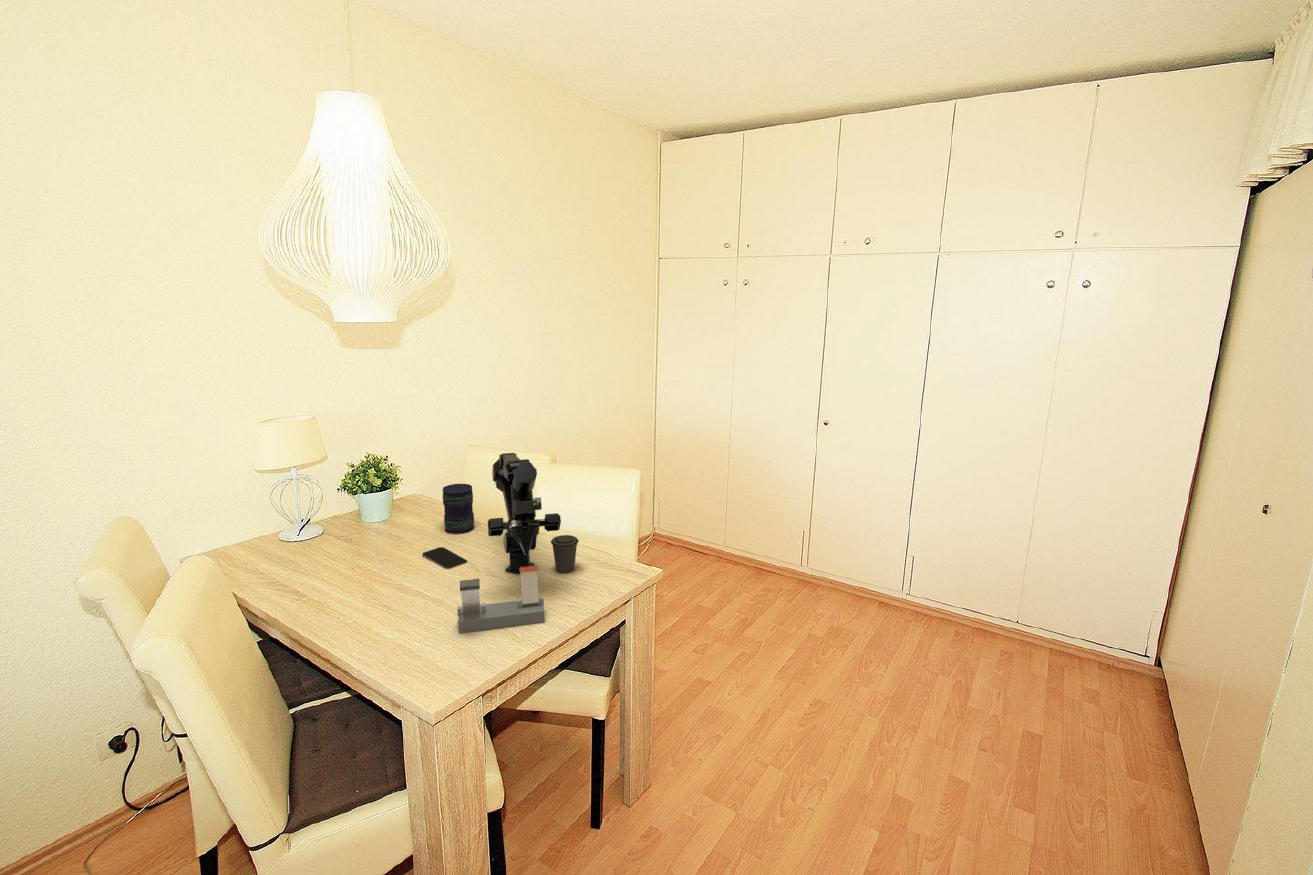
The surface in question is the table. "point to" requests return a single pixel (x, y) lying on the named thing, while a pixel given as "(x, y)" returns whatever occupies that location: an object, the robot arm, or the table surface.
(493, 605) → the switch box
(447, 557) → the smartphone
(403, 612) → the table surface
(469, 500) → the storage jar
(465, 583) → the cream dark-capped block
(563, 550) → the coffee cup
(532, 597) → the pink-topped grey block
